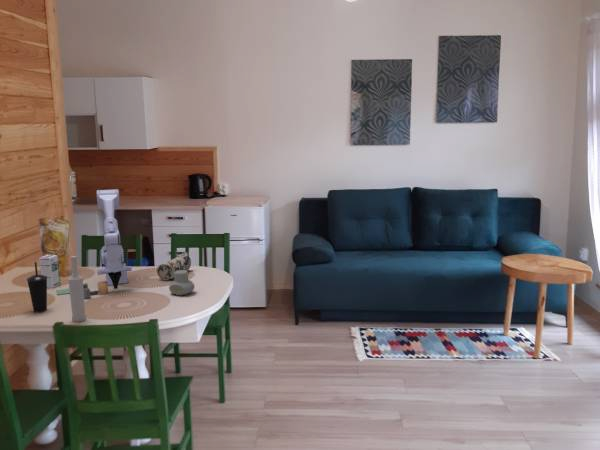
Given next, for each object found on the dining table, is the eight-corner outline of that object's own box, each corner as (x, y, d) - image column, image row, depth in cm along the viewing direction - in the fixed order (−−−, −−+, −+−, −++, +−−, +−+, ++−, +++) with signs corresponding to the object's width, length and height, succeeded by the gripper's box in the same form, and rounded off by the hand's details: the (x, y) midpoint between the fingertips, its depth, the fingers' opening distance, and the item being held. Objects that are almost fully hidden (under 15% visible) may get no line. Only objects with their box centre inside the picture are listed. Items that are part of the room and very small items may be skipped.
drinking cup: (34, 307, 230) (29, 260, 226) (53, 306, 231) (48, 259, 227) (26, 313, 223) (21, 265, 219) (46, 313, 223) (41, 264, 220)
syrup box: (53, 288, 257) (50, 257, 254) (41, 287, 258) (38, 257, 255) (60, 284, 262) (58, 254, 260) (49, 284, 263) (46, 254, 261)
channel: (87, 291, 251) (86, 283, 250) (90, 298, 241) (89, 289, 240) (73, 293, 249) (72, 284, 248) (75, 300, 238) (75, 291, 237)
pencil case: (177, 269, 287) (176, 251, 286) (192, 270, 285) (191, 252, 284) (156, 281, 267) (154, 261, 265) (172, 282, 265) (171, 262, 263)
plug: (107, 291, 251) (106, 280, 250) (108, 293, 248) (107, 282, 247) (86, 294, 247) (85, 283, 246) (87, 296, 244) (86, 285, 243)
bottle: (81, 316, 219) (75, 254, 215) (89, 318, 216) (83, 256, 212) (69, 320, 215) (63, 257, 210) (77, 322, 212) (71, 258, 207)
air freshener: (166, 295, 245) (165, 273, 243) (176, 289, 253) (175, 268, 251) (187, 297, 242) (186, 275, 240) (197, 292, 249) (196, 270, 247)
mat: (72, 288, 255) (72, 288, 255) (74, 293, 249) (74, 292, 249) (56, 291, 252) (56, 290, 252) (57, 295, 246) (57, 294, 246)
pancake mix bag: (48, 270, 288) (43, 216, 283) (75, 274, 280) (71, 219, 275) (37, 273, 282) (32, 219, 277) (65, 277, 274) (60, 221, 269)
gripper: (97, 262, 241) (100, 293, 244) (132, 258, 248) (134, 288, 250) (95, 259, 248) (97, 288, 250) (129, 255, 254) (131, 284, 257)
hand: (115, 288), depth 251 cm, fingers closed
